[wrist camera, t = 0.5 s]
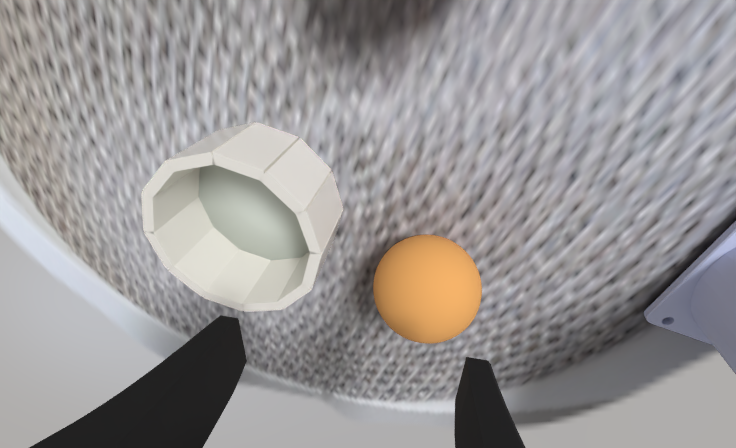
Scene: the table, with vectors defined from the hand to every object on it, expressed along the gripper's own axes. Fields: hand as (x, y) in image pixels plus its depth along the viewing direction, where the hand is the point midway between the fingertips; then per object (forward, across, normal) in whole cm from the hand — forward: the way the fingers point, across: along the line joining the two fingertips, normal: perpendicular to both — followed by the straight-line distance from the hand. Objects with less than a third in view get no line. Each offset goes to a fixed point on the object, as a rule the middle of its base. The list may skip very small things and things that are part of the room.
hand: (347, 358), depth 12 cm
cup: (+9, +6, 0) cm, 11 cm away
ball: (+6, -2, +2) cm, 7 cm away
